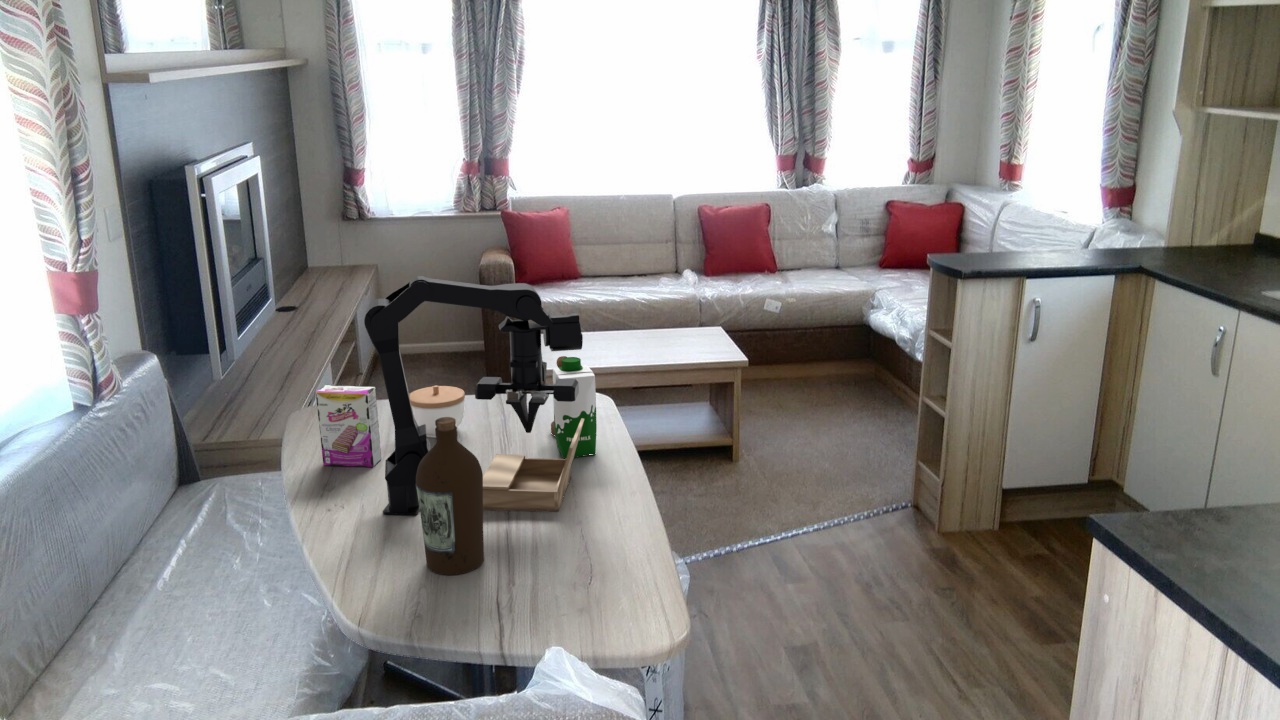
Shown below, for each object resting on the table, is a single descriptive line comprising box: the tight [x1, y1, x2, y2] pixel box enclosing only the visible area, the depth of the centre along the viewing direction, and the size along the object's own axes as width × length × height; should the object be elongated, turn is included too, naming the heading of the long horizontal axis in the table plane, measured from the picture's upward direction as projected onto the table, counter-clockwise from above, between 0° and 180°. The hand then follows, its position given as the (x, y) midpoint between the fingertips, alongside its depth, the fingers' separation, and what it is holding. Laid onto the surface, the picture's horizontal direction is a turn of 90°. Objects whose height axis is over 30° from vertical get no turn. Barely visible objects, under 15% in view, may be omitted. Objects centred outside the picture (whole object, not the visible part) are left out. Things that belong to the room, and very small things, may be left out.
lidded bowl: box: [409, 385, 466, 439], centre depth 215 cm, size 13×13×11 cm
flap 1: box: [483, 453, 526, 490], centre depth 183 cm, size 16×6×1 cm, turn 175°
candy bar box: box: [315, 384, 383, 468], centre depth 197 cm, size 11×5×16 cm, turn 84°
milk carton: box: [552, 356, 597, 459], centre depth 202 cm, size 9×9×20 cm
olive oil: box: [416, 417, 485, 576], centre depth 154 cm, size 11×11×25 cm
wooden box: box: [483, 457, 572, 512], centre depth 184 cm, size 16×15×4 cm
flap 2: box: [558, 418, 584, 492], centre depth 181 cm, size 16×9×1 cm
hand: (528, 432), depth 180 cm, fingers closed
